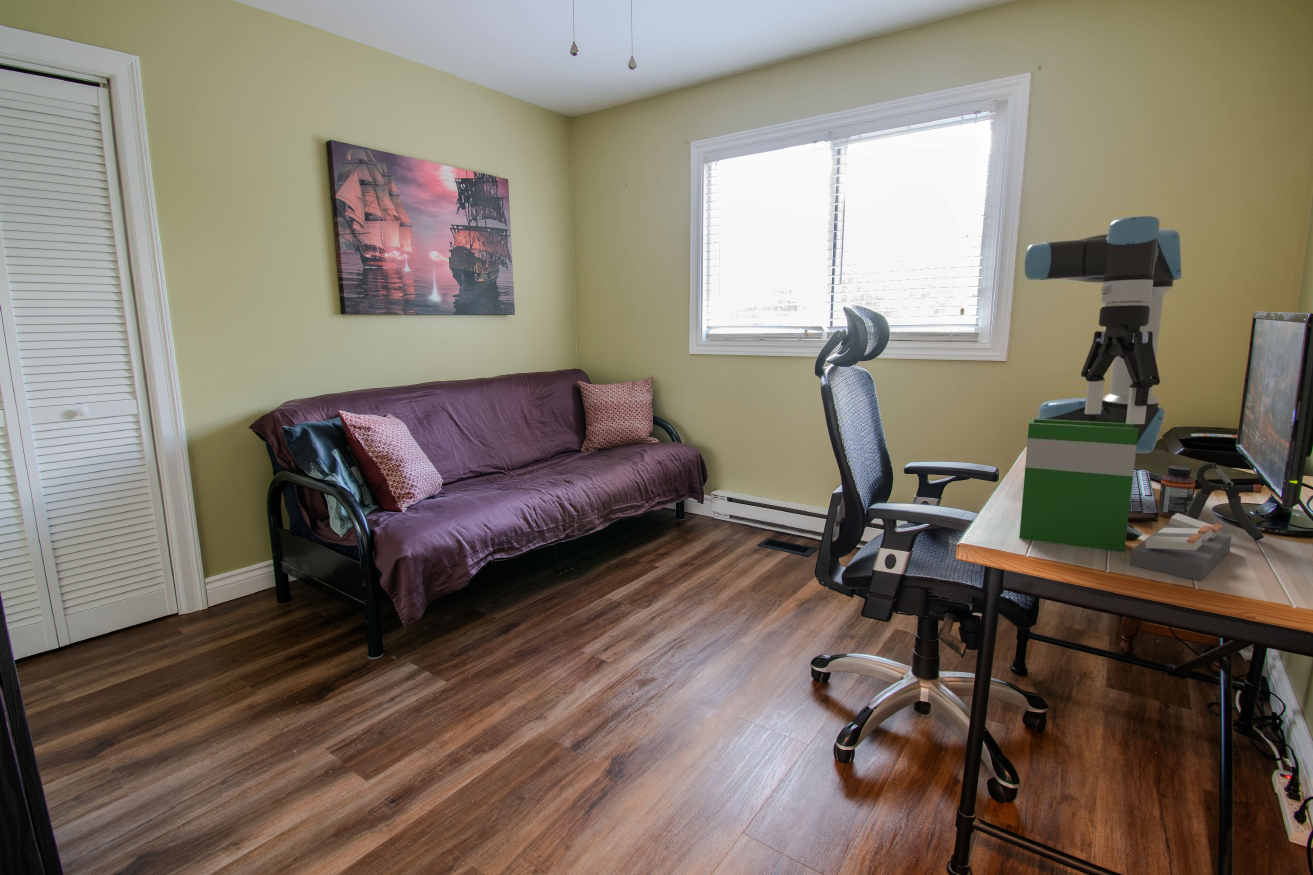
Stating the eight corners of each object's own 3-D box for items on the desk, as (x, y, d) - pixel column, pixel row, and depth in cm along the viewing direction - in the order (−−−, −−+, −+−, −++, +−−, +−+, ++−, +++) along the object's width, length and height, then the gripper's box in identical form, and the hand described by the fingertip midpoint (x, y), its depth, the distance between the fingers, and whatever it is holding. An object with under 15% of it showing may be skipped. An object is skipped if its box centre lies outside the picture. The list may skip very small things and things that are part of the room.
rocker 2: (1175, 518, 127) (1178, 510, 127) (1218, 533, 122) (1222, 525, 122) (1168, 522, 124) (1172, 515, 124) (1213, 538, 119) (1217, 530, 119)
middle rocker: (1164, 533, 123) (1163, 525, 123) (1212, 535, 117) (1210, 526, 117) (1158, 538, 120) (1157, 529, 120) (1206, 540, 114) (1205, 531, 114)
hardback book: (1120, 540, 129) (1133, 423, 125) (1124, 552, 123) (1138, 429, 119) (1020, 528, 138) (1029, 418, 134) (1019, 538, 132) (1028, 423, 127)
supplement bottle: (1159, 510, 149) (1165, 463, 147) (1192, 515, 145) (1198, 466, 143) (1155, 516, 145) (1161, 467, 143) (1188, 521, 140) (1195, 471, 138)
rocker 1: (1153, 542, 118) (1152, 533, 118) (1201, 544, 112) (1200, 534, 112) (1146, 547, 115) (1144, 538, 115) (1195, 550, 110) (1194, 540, 110)
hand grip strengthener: (1263, 543, 126) (1275, 469, 123) (1181, 531, 134) (1190, 462, 131) (1262, 540, 128) (1273, 467, 125) (1181, 529, 135) (1190, 460, 133)
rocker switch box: (1171, 533, 133) (1173, 519, 132) (1235, 545, 125) (1237, 530, 125) (1130, 564, 116) (1132, 549, 116) (1200, 581, 109) (1203, 564, 108)
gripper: (1068, 307, 131) (1058, 410, 134) (1146, 302, 106) (1132, 428, 110) (1107, 307, 130) (1096, 410, 133) (1195, 301, 105) (1179, 428, 109)
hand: (1112, 418), depth 122 cm, fingers open, 13 cm apart
